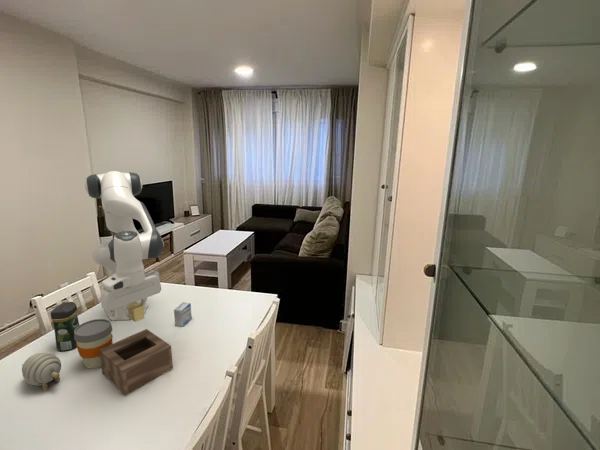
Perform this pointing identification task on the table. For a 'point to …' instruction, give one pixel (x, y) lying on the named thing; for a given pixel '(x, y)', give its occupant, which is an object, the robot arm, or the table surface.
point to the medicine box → (182, 314)
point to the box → (136, 360)
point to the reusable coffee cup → (93, 340)
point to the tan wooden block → (136, 311)
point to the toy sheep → (41, 369)
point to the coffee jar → (65, 325)
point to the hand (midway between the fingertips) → (134, 311)
